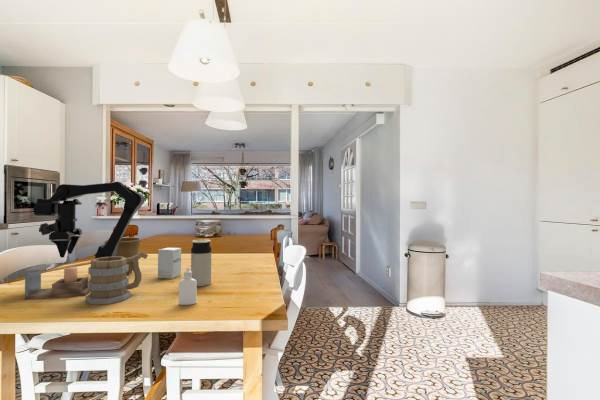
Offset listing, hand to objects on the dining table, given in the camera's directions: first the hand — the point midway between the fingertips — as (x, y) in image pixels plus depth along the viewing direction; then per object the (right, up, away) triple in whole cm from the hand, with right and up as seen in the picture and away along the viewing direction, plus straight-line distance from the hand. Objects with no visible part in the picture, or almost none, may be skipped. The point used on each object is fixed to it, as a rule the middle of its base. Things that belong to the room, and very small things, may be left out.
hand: (66, 255), depth 133 cm
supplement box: (+34, -13, +18) cm, 40 cm away
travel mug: (+52, -13, +5) cm, 54 cm away
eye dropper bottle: (+55, -13, -20) cm, 60 cm away
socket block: (+5, -12, -10) cm, 17 cm away
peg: (+8, -11, -9) cm, 17 cm away
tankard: (+28, -13, -13) cm, 34 cm away
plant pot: (+10, -12, +23) cm, 28 cm away
